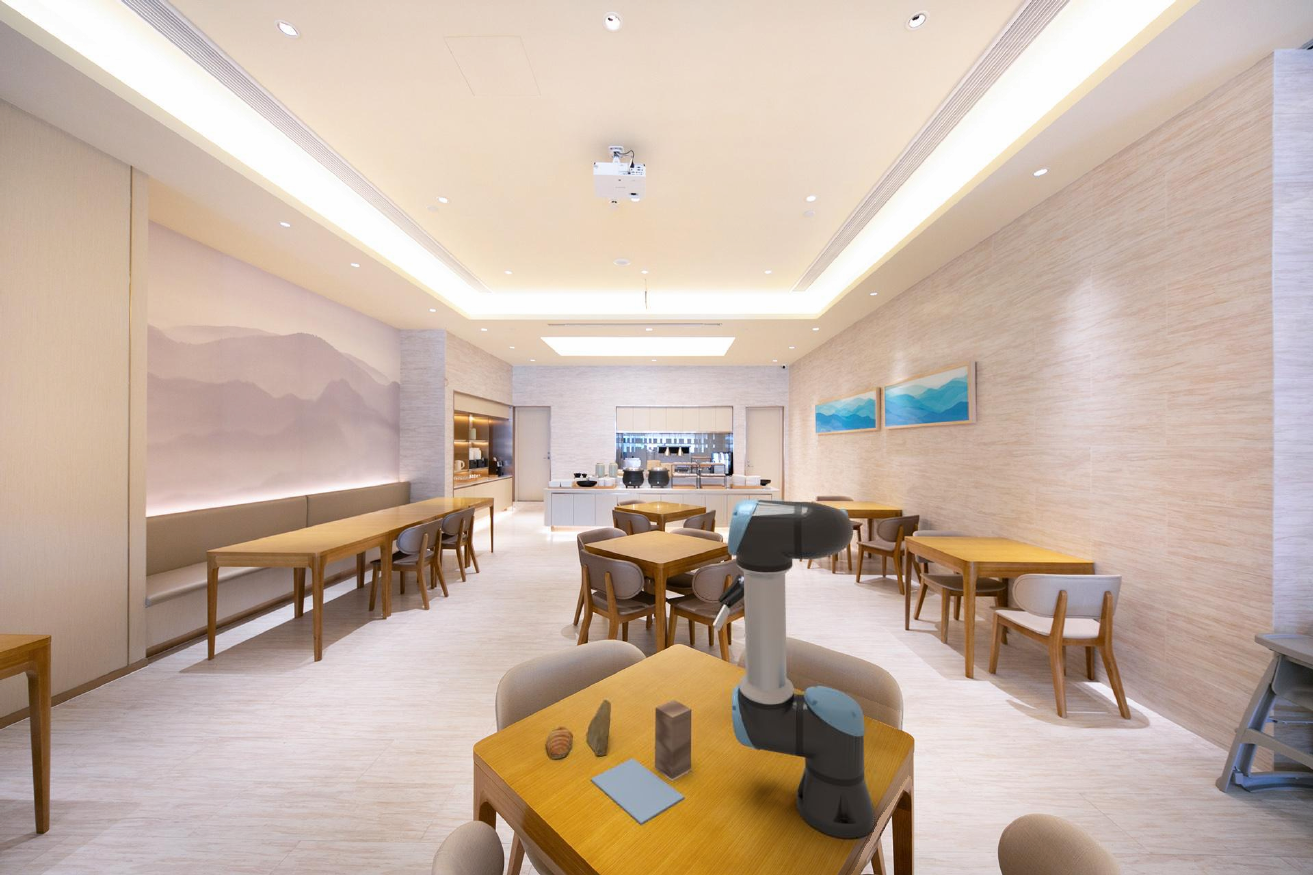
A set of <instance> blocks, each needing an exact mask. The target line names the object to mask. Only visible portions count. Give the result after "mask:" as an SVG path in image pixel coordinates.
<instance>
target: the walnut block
mask: <svg viewBox="0 0 1313 875" xmlns="http://www.w3.org/2000/svg"><path fill="white" fill-rule="evenodd" d="M654 715H655V718H654V719H655V721H654V722H655V727H654V729H655V732H654V733H655V735H654V744H655V745H654V769H655V770H656V771H658V772H659V773H660V774H661V775H663V776H665V777H666V778H667V779H668V780H670V781H672V782H673V781H675V780H677V779H679V778H680V777H682V776H684V775H686V774H688V773H689V772H691V771H692V708H690V707H689V706H687V705H684V704H683V703H681V702H679V701H677V700H675V699H673V700H671V701H668V702H665V703H662V704H661V705H658V706H656V707H655V714H654Z"/></svg>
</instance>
